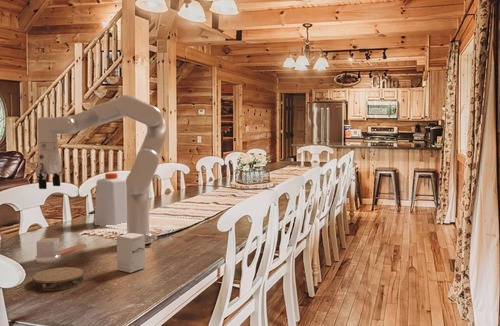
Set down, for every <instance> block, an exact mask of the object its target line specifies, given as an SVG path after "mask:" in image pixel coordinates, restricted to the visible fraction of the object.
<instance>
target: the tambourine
mask: <svg viewBox="0 0 500 326" xmlns="http://www.w3.org/2000/svg"><path fill="white" fill-rule="evenodd" d="M83 282H84V270H83V269H81V268H80V267H79V268H78V267H71V266H69V267H67V266H66V267H64V266H63V267H62V266H61V267H53V268H50V269H49V268H48V269H45V270H40V271H37V272H36V273H34V274H33V276H32V285H33V287H34V288H35V289H39V290H41V291H61V290H66V289H71V288H75V287H78V286H79V285H81V284H82V283H83Z"/></svg>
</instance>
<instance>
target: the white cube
mask: <svg viewBox="0 0 500 326" xmlns="http://www.w3.org/2000/svg"><path fill="white" fill-rule="evenodd" d="M60 251H61V249H60V237H43V238H40V239H39V240H37V241H36V256H37V258H44V257H55V256H57V255H58V254H59V253H60Z"/></svg>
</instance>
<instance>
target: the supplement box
mask: <svg viewBox="0 0 500 326" xmlns="http://www.w3.org/2000/svg"><path fill="white" fill-rule="evenodd" d="M145 268H146V244H145V235H143V234H136V233H129V234H127V233H125V234H120V235H117V236H116V269H117V271H121V272H126V273H130V274H131V273H133V272H136V271H138V270H139V271H140V270H143V269H145Z"/></svg>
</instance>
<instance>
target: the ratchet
mask: <svg viewBox="0 0 500 326" xmlns="http://www.w3.org/2000/svg"><path fill="white" fill-rule="evenodd" d="M86 248H87V243H86V244H85V243H78V244H74V245H73V246H70V247H67V248H64V249H60V253H59V254H58V255H57V256H55V257H44V258H37V255H35V264H38V265H52V264H56V263H58V262H60V261H62V258H64V257H66V256H68V255H71V254H74V253H75V252H78V251H80V250H83V249H86Z"/></svg>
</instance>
